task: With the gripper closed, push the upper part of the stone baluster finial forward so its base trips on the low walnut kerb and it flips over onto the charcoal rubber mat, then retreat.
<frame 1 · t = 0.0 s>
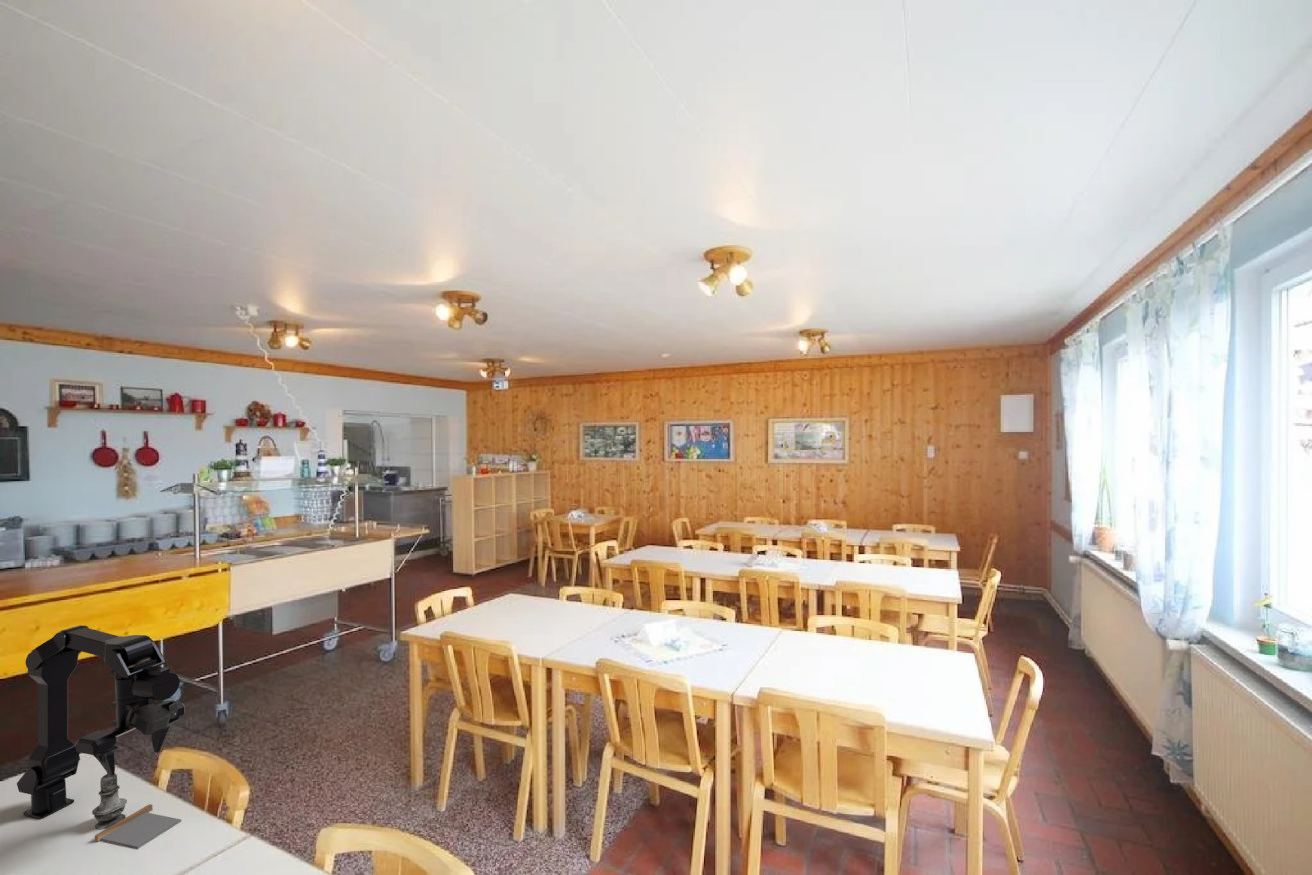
hand: (135, 763, 133), 15 cm above the table, fingers open, 9 cm apart
kerb: (124, 824, 134), on the table
mat: (141, 830, 132), on the table
stone baluster finial: (110, 822, 135), on the table
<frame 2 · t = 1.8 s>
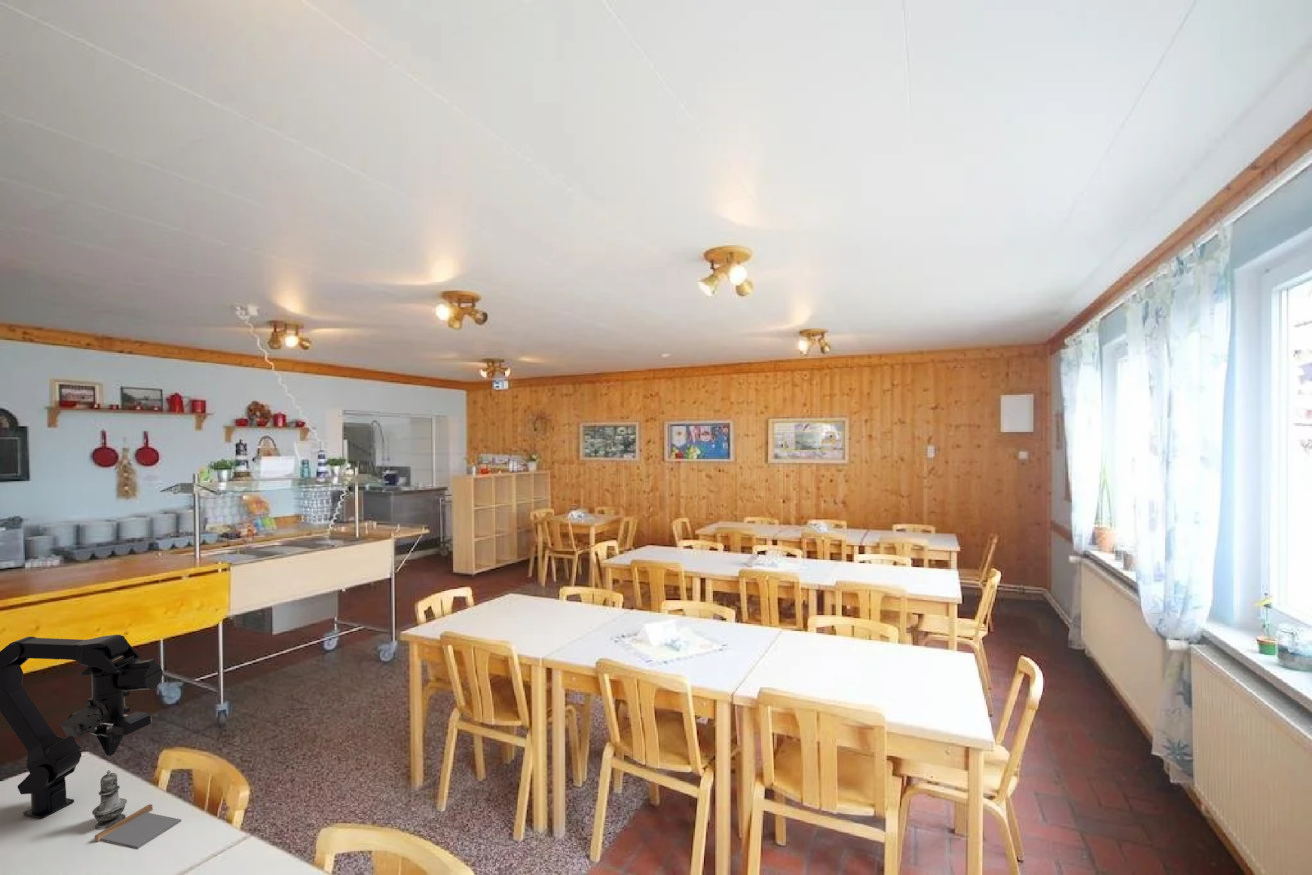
hand: (110, 754, 141), 12 cm above the table, fingers closed
nothing on the table moved.
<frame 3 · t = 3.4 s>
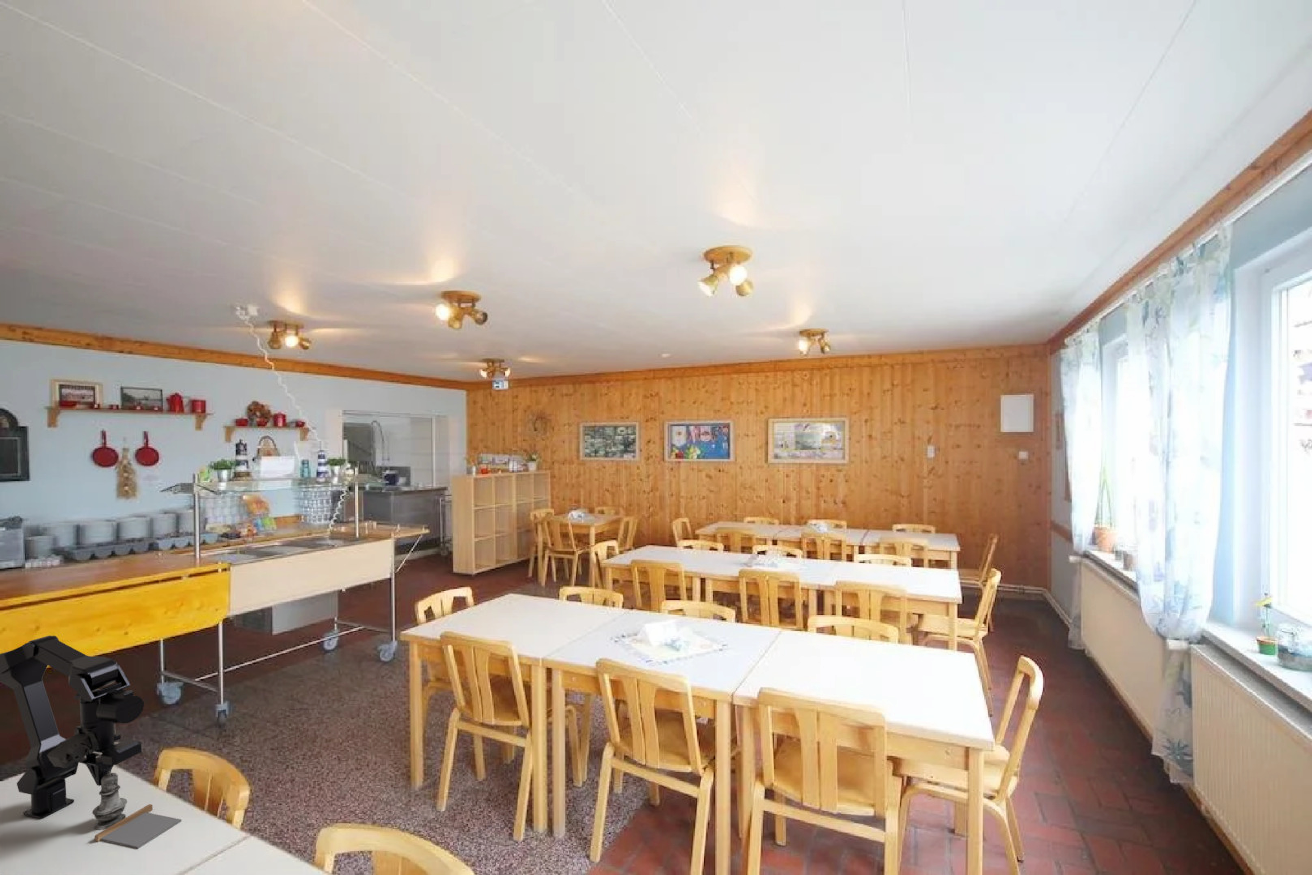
hand: (100, 784, 136), 8 cm above the table, fingers closed
stone baluster finial: (110, 822, 135), on the table, touching gripper
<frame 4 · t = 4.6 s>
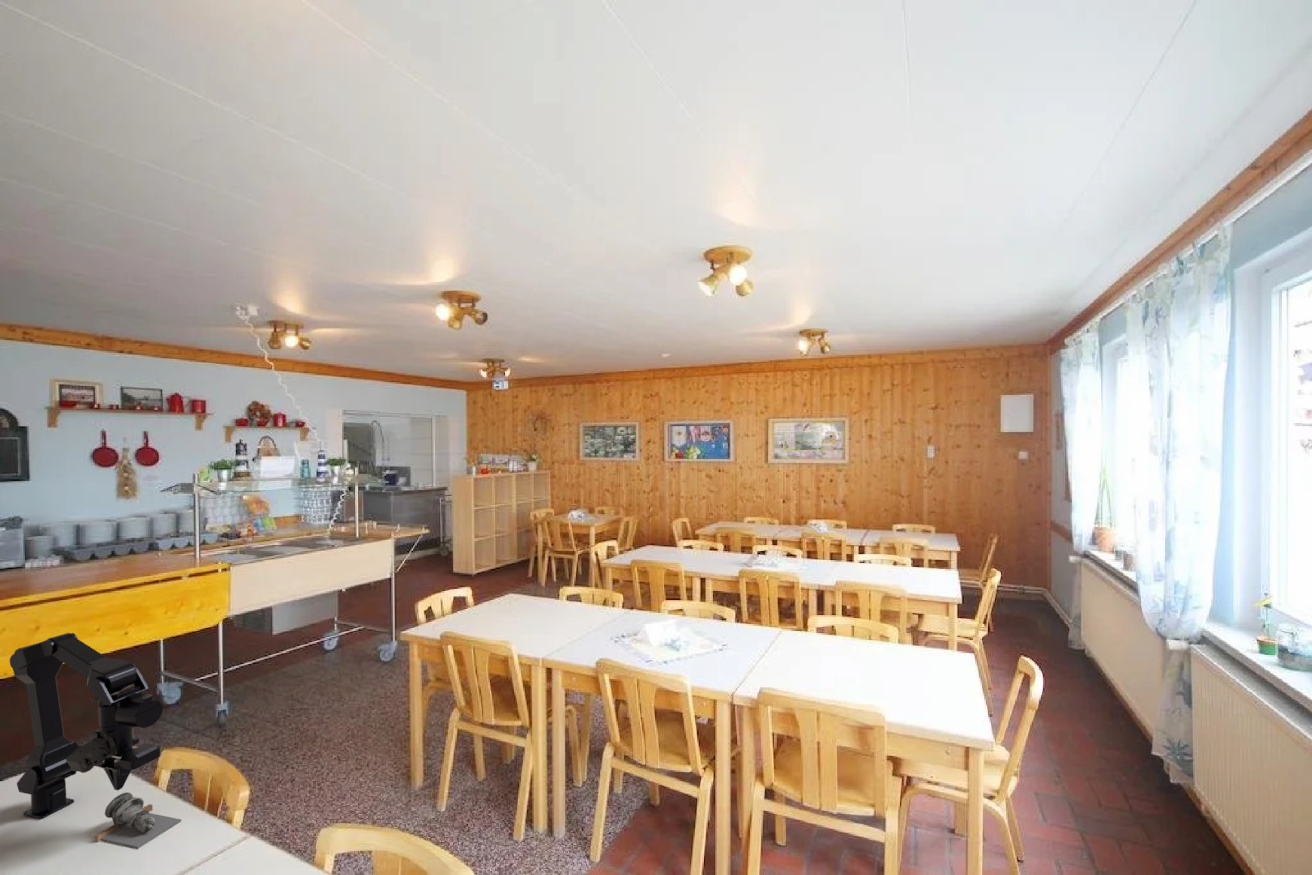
hand: (118, 789, 134), 8 cm above the table, fingers closed
stone baluster finial: (118, 804, 134), point 4 cm above the table, touching kerb, mat
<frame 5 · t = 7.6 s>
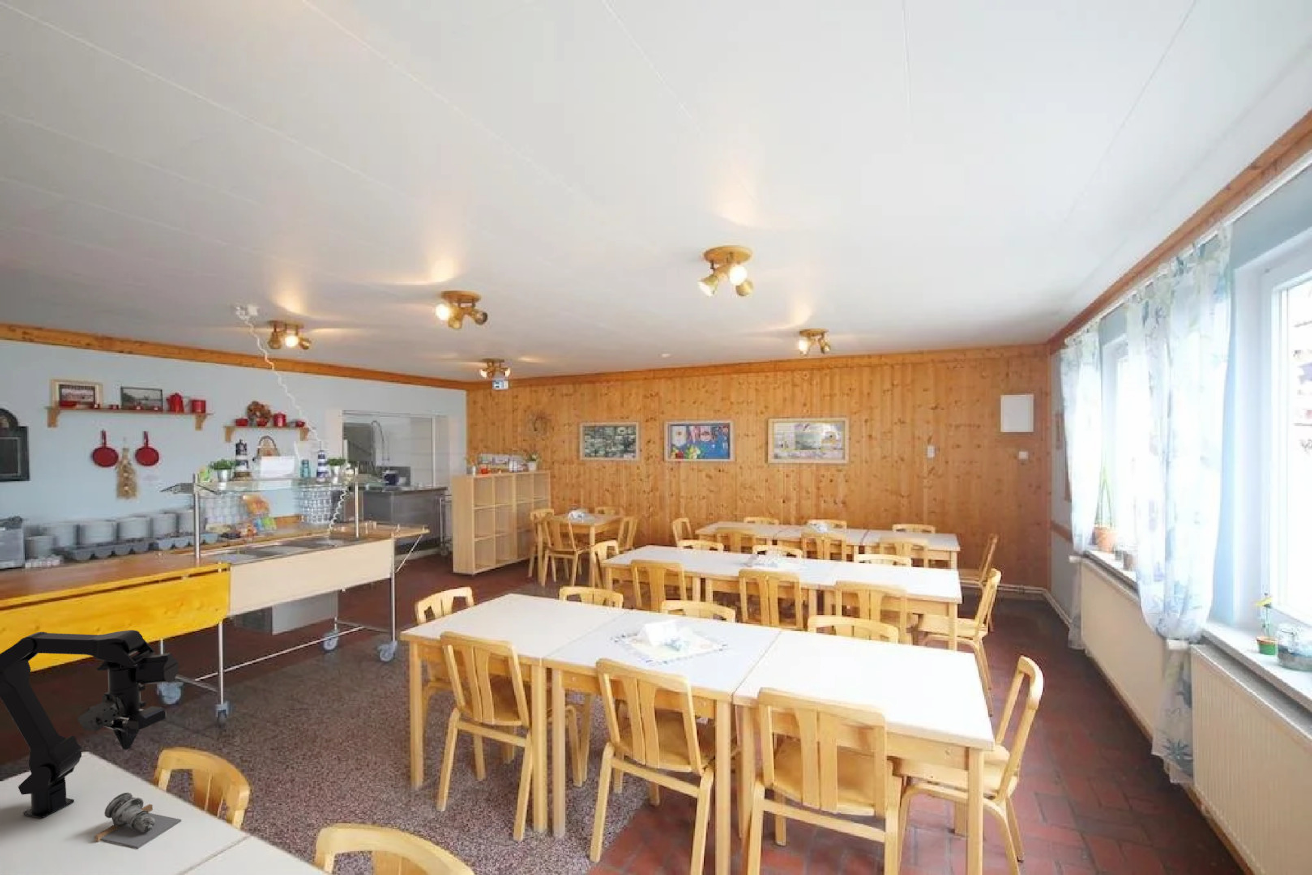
hand: (126, 748, 143), 12 cm above the table, fingers closed
nothing on the table moved.
at the end: stone baluster finial tilted 104°; stone baluster finial 7.7 cm from the mat (horizontally); stone baluster finial moved 5.3 cm from its start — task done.
